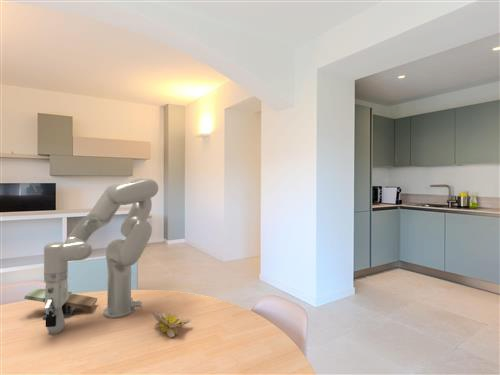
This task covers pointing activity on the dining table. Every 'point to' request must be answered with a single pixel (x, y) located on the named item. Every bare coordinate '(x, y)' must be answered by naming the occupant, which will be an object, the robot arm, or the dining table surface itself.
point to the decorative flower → (169, 323)
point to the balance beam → (72, 301)
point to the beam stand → (69, 311)
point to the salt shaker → (57, 322)
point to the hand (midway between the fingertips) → (56, 320)
